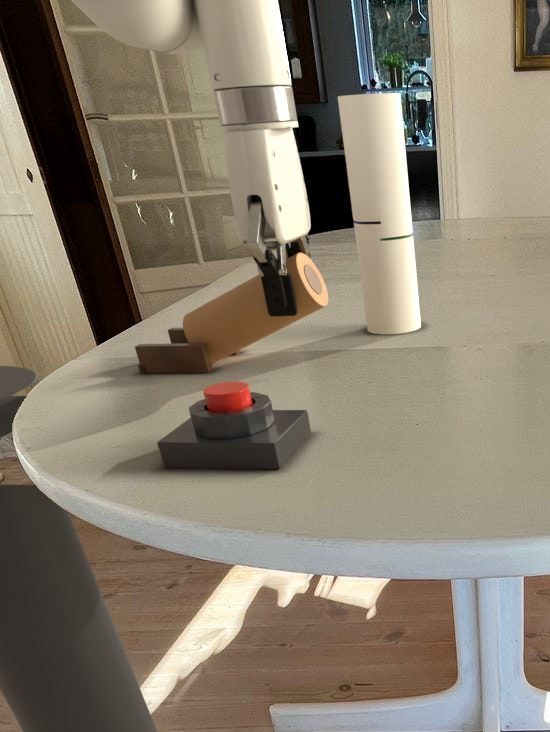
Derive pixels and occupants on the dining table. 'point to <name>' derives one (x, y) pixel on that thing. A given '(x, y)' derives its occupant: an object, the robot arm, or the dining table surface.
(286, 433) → the button box
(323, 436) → the dining table surface
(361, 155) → the cylindrical container
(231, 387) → the button
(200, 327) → the paper roll
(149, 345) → the roll stand
